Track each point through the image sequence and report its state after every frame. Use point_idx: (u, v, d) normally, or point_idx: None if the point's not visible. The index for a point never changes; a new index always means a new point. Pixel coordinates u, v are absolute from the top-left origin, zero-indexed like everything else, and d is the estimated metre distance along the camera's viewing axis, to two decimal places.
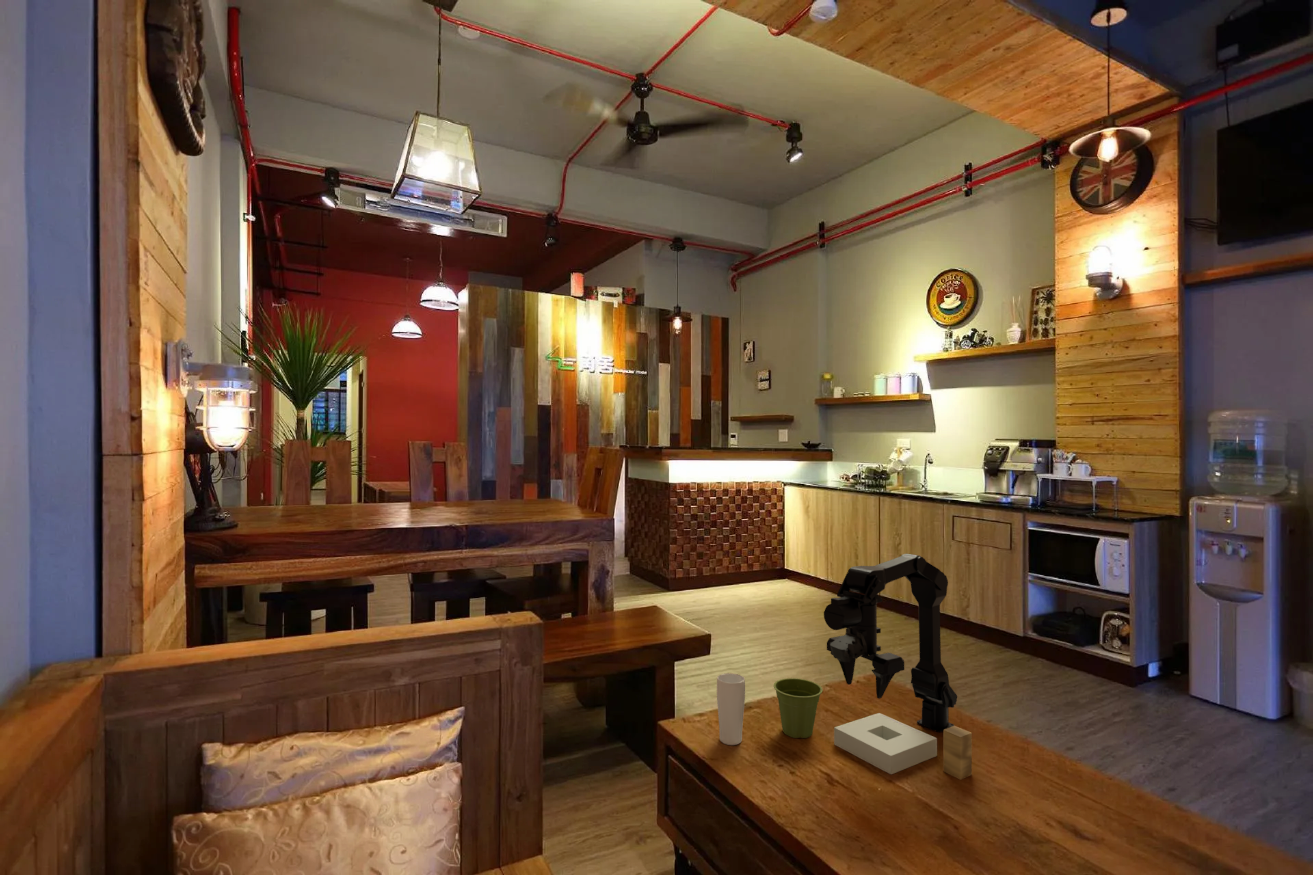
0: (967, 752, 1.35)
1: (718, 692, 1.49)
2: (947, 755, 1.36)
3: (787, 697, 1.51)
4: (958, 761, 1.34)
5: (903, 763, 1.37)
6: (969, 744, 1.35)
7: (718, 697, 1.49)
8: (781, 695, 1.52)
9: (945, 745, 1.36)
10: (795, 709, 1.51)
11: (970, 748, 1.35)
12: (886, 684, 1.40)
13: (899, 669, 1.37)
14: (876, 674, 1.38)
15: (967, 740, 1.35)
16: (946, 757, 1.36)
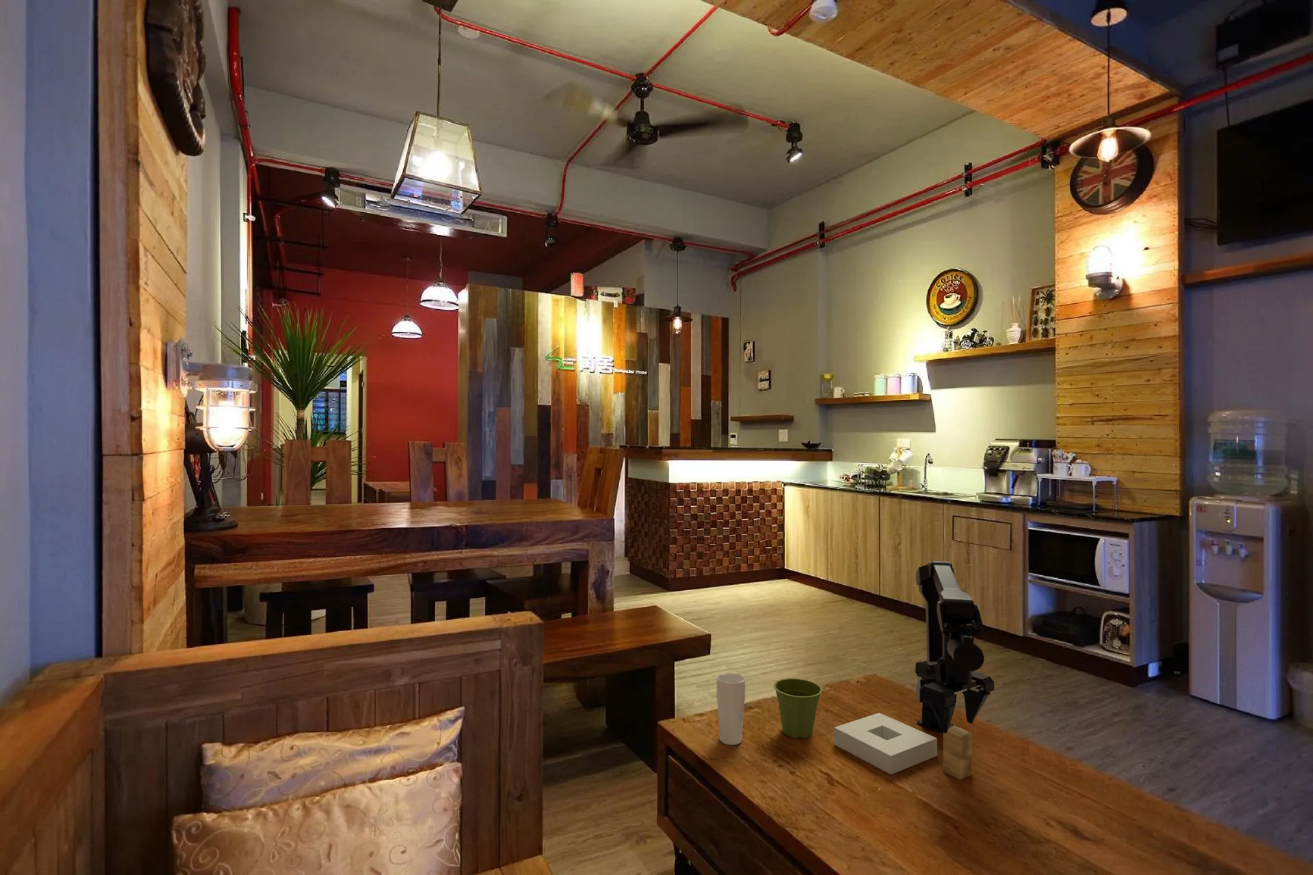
0: (967, 752, 1.35)
1: (718, 692, 1.49)
2: (947, 755, 1.36)
3: (787, 697, 1.51)
4: (958, 761, 1.34)
5: (903, 763, 1.37)
6: (969, 744, 1.35)
7: (718, 697, 1.49)
8: (781, 695, 1.52)
9: (945, 745, 1.36)
10: (795, 709, 1.51)
11: (970, 748, 1.35)
12: (945, 720, 1.32)
13: (934, 702, 1.31)
14: None
15: (967, 740, 1.35)
16: (946, 757, 1.36)
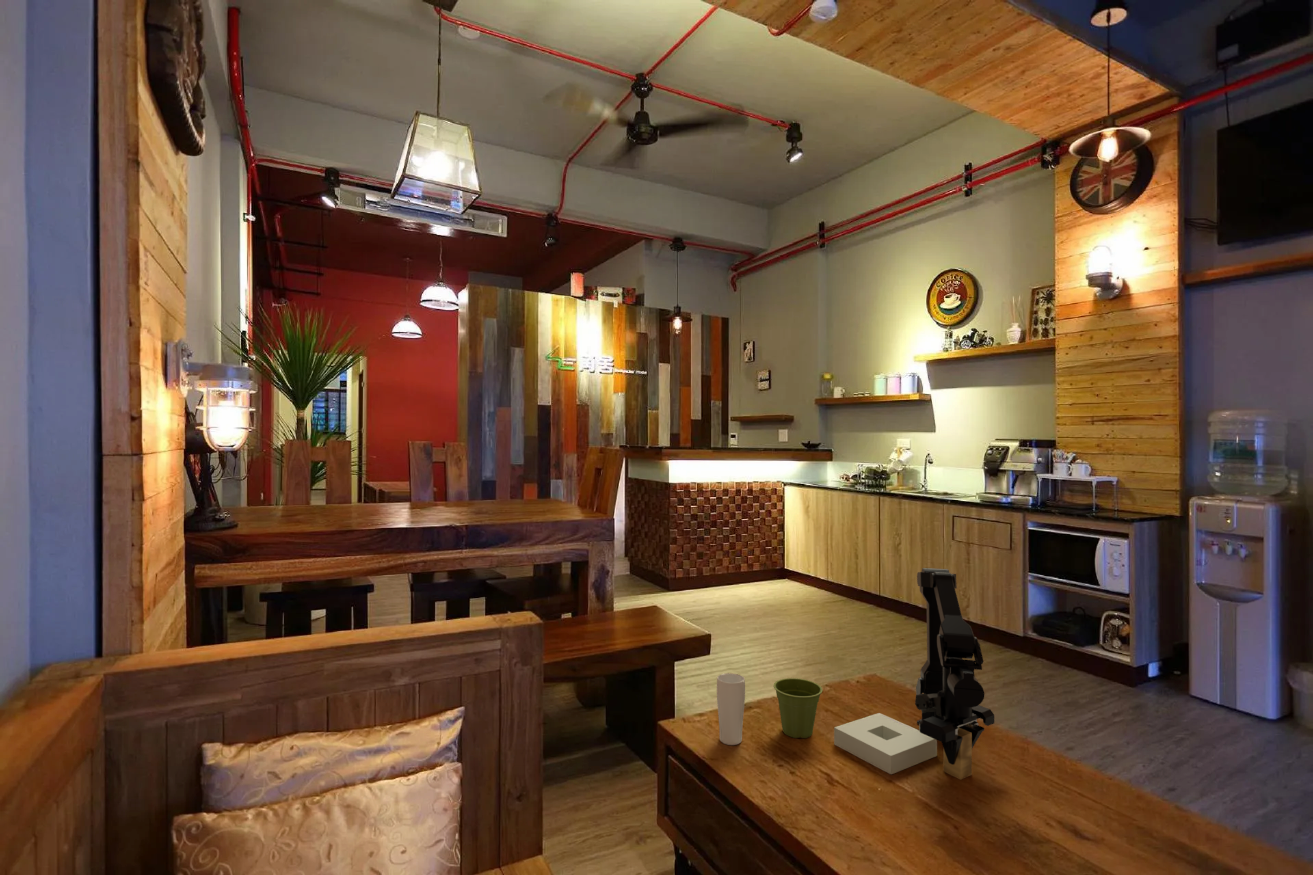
0: (967, 752, 1.35)
1: (718, 692, 1.49)
2: None
3: (787, 697, 1.51)
4: (958, 761, 1.34)
5: (903, 763, 1.37)
6: (969, 744, 1.35)
7: (718, 697, 1.49)
8: (781, 695, 1.52)
9: None
10: (795, 709, 1.51)
11: (970, 748, 1.35)
12: (952, 751, 1.34)
13: (934, 737, 1.30)
14: None
15: (967, 740, 1.35)
16: (946, 757, 1.36)
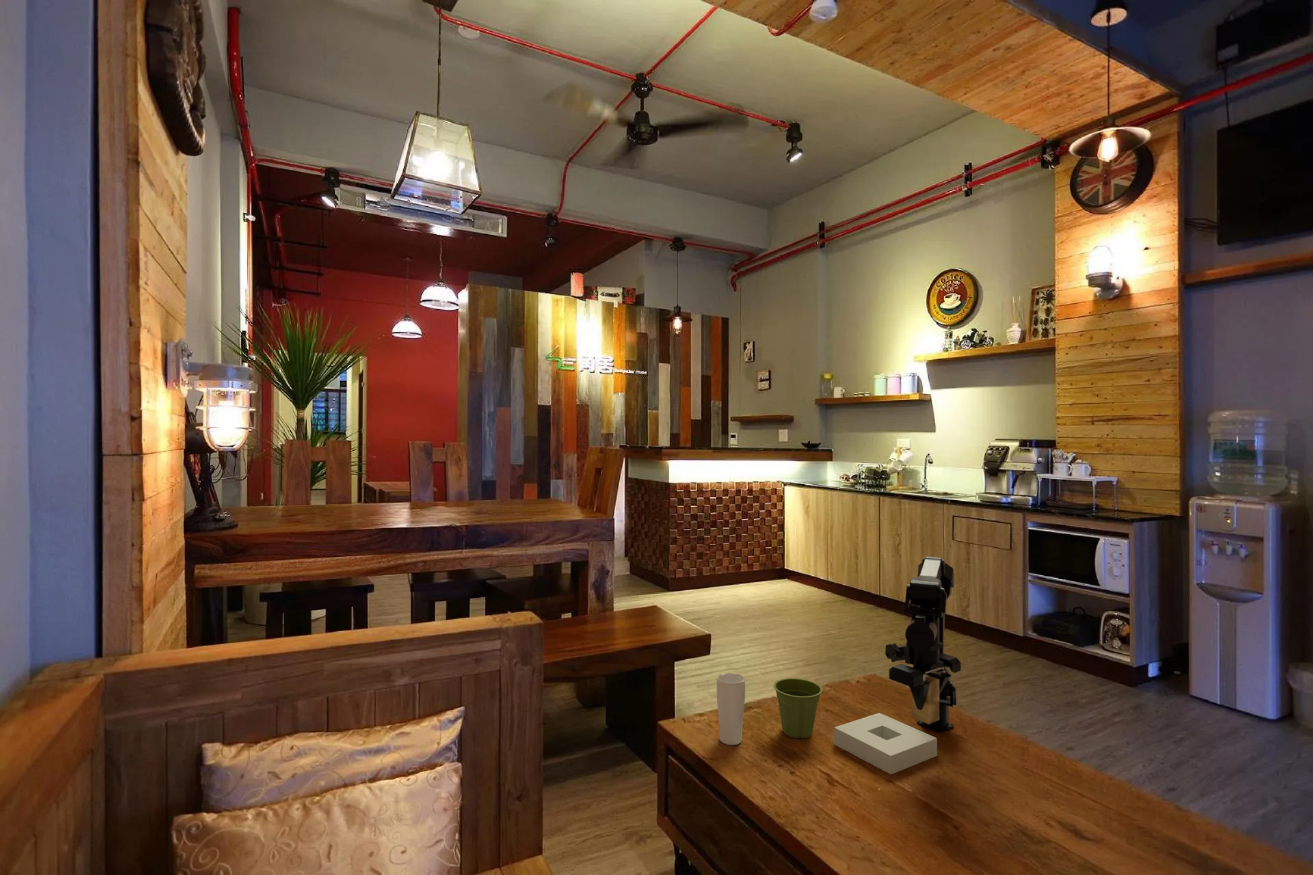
0: (935, 698, 1.39)
1: (718, 692, 1.49)
2: None
3: (787, 697, 1.51)
4: (926, 706, 1.38)
5: (903, 763, 1.37)
6: (937, 690, 1.40)
7: (718, 697, 1.49)
8: (781, 695, 1.52)
9: None
10: (795, 709, 1.51)
11: (938, 694, 1.40)
12: (920, 697, 1.38)
13: (903, 682, 1.35)
14: None
15: (935, 686, 1.39)
16: None
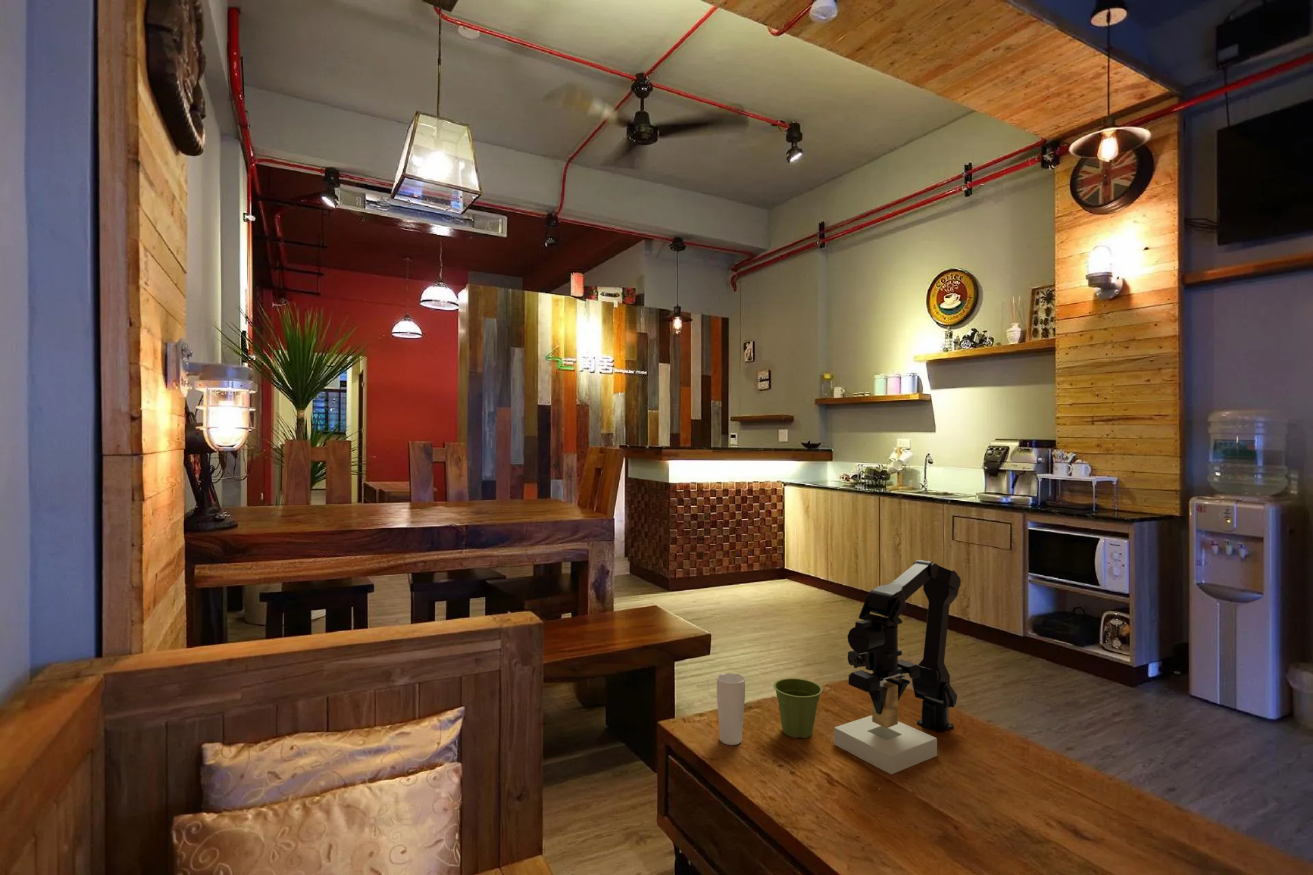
0: (893, 703, 1.45)
1: (718, 692, 1.49)
2: None
3: (787, 697, 1.51)
4: (884, 711, 1.44)
5: (903, 763, 1.37)
6: (895, 696, 1.45)
7: (718, 697, 1.49)
8: (781, 695, 1.52)
9: None
10: (795, 709, 1.51)
11: (896, 699, 1.45)
12: (878, 702, 1.44)
13: (860, 688, 1.41)
14: None
15: (893, 691, 1.45)
16: (874, 708, 1.46)
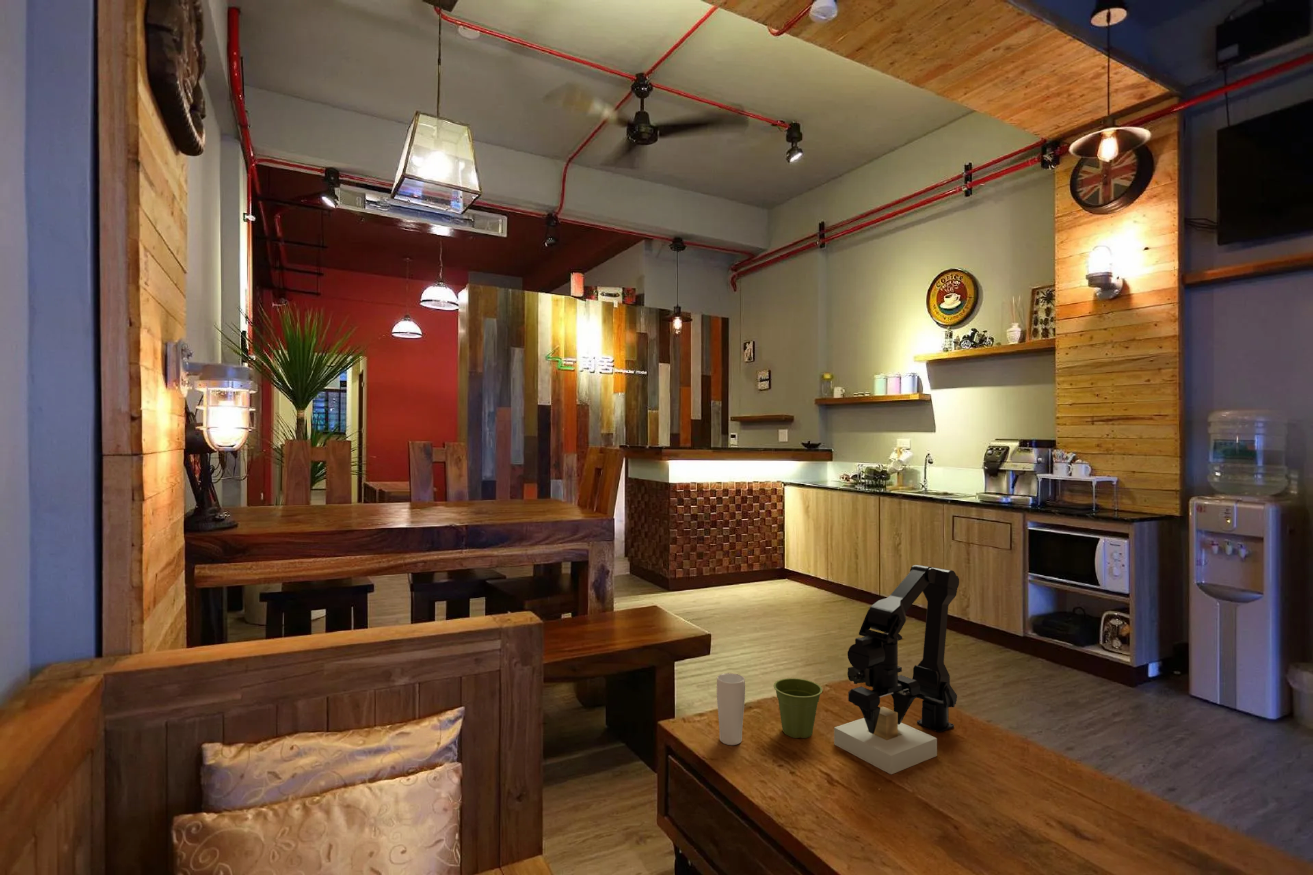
0: (893, 730, 1.45)
1: (718, 692, 1.49)
2: (875, 733, 1.46)
3: (787, 697, 1.51)
4: None
5: (903, 763, 1.37)
6: (895, 723, 1.45)
7: (718, 697, 1.49)
8: (781, 695, 1.52)
9: None
10: (795, 709, 1.51)
11: (896, 727, 1.45)
12: (871, 721, 1.43)
13: (860, 705, 1.41)
14: None
15: (893, 719, 1.45)
16: None
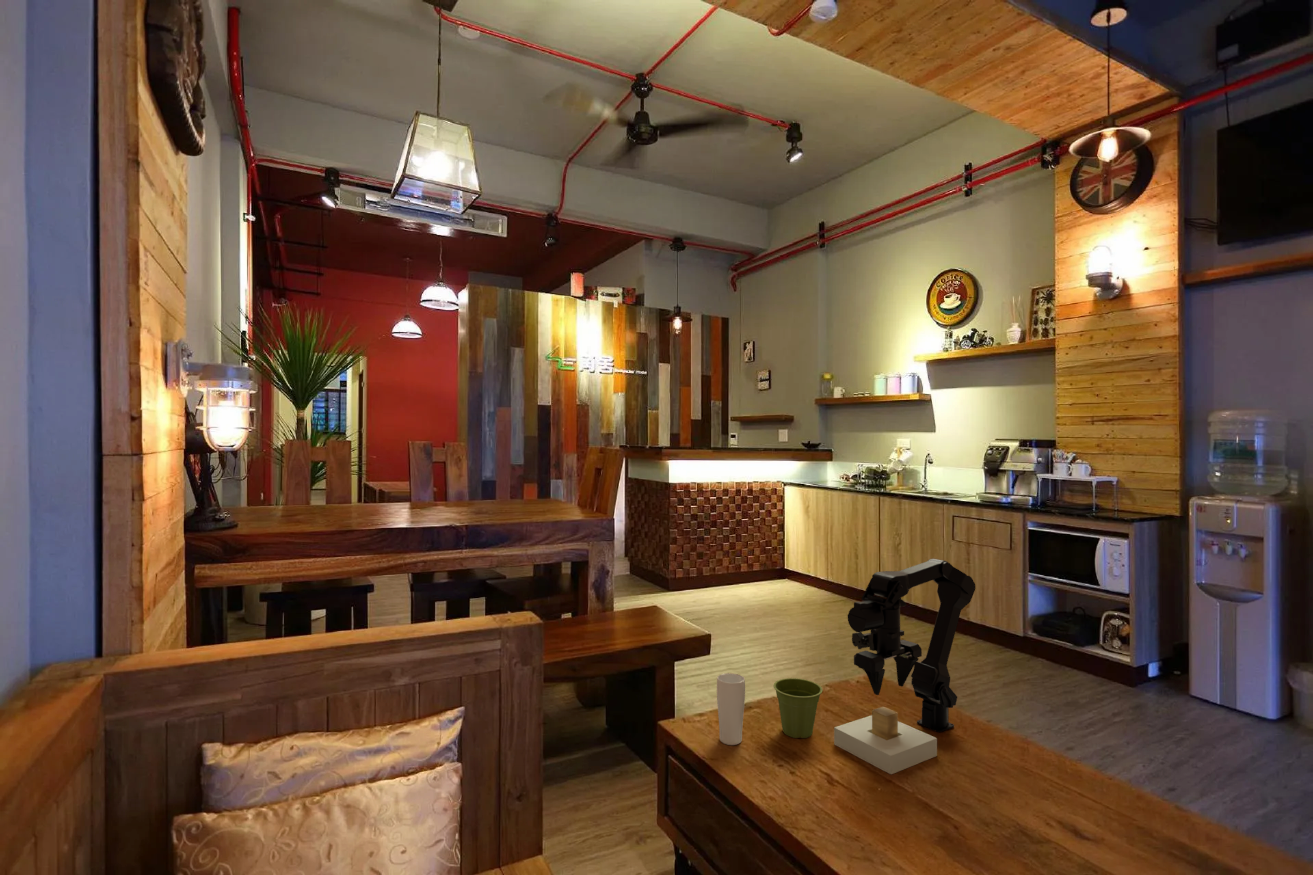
0: (893, 730, 1.45)
1: (718, 692, 1.49)
2: (875, 733, 1.46)
3: (787, 697, 1.51)
4: None
5: (903, 763, 1.37)
6: (895, 723, 1.45)
7: (718, 697, 1.49)
8: (781, 695, 1.52)
9: (873, 724, 1.47)
10: (795, 709, 1.51)
11: (896, 727, 1.45)
12: (876, 683, 1.48)
13: (866, 667, 1.46)
14: None
15: (893, 719, 1.45)
16: None
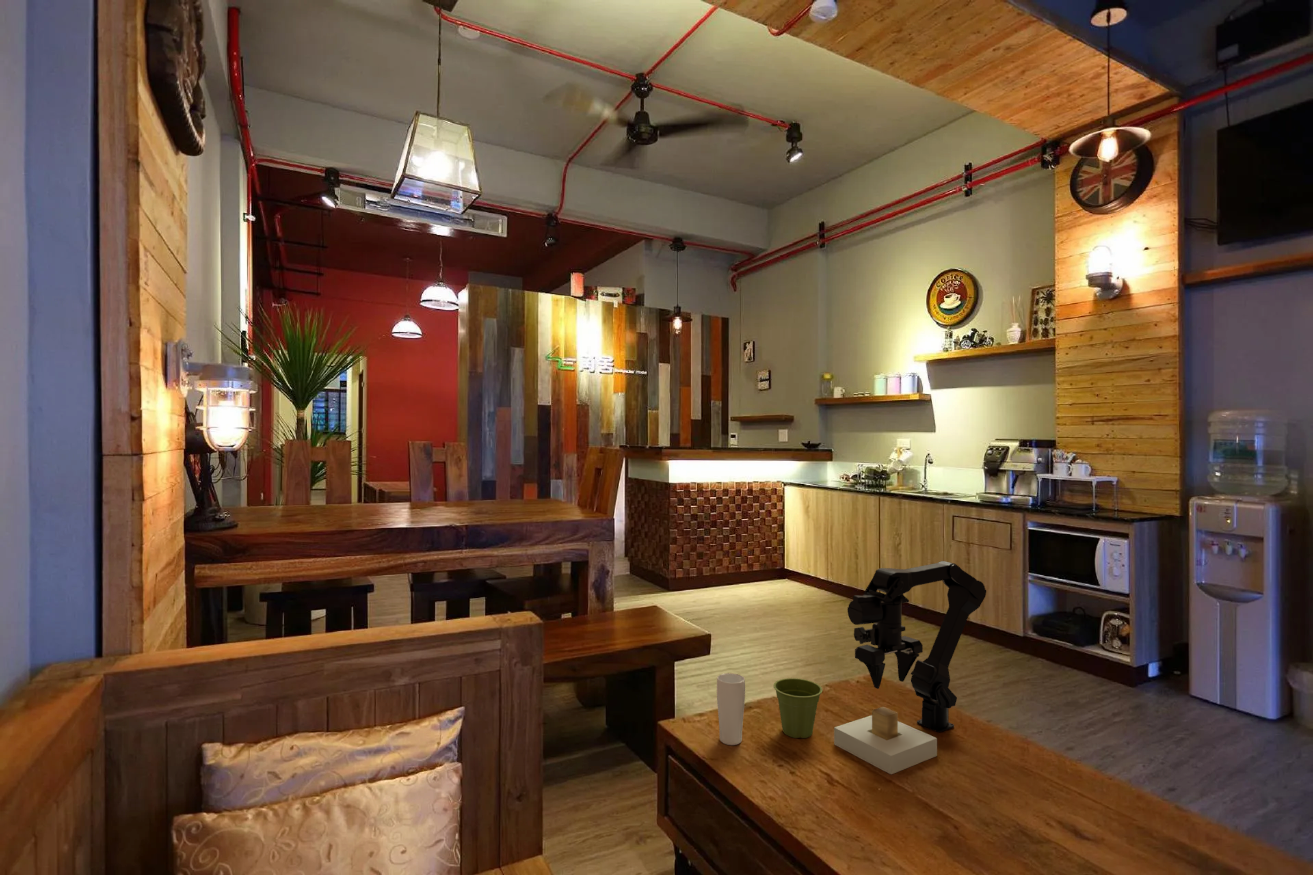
0: (893, 730, 1.45)
1: (718, 692, 1.49)
2: (875, 733, 1.46)
3: (787, 697, 1.51)
4: None
5: (903, 763, 1.37)
6: (895, 723, 1.45)
7: (718, 697, 1.49)
8: (781, 695, 1.52)
9: (873, 724, 1.47)
10: (795, 709, 1.51)
11: (896, 727, 1.45)
12: (876, 676, 1.51)
13: (866, 660, 1.49)
14: None
15: (893, 719, 1.45)
16: None
